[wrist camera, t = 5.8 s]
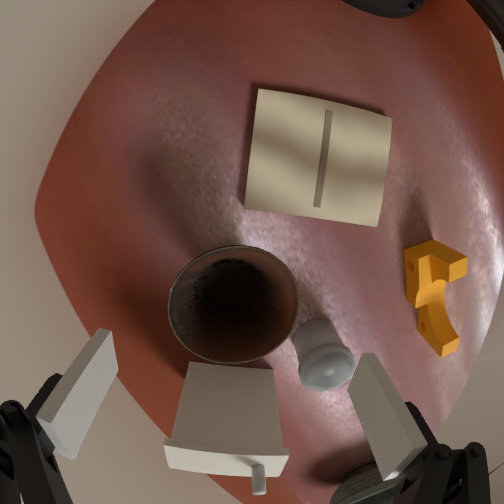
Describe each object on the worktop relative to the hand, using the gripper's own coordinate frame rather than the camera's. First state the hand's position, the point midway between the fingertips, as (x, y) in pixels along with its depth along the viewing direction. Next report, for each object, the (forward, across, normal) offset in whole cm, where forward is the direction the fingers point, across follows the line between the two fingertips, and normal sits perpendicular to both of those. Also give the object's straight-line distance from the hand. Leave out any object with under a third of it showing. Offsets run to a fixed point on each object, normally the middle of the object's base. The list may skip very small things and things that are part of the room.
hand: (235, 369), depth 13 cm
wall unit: (+15, 0, -15) cm, 21 cm away
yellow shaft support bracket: (+15, +22, -1) cm, 27 cm away
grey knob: (+15, +9, -8) cm, 19 cm away
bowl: (+15, +32, -47) cm, 59 cm away
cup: (+15, 0, 0) cm, 15 cm away
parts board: (+15, +6, +11) cm, 20 cm away
